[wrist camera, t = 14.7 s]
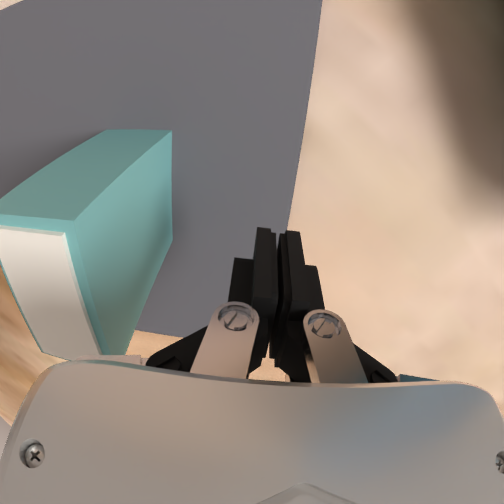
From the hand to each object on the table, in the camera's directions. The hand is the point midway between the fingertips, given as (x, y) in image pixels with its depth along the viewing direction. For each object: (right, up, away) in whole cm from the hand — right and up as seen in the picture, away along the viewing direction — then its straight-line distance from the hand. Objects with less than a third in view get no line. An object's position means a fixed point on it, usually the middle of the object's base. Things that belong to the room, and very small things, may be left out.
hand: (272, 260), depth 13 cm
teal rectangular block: (-7, +4, +5) cm, 10 cm away
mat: (-9, +5, +5) cm, 12 cm away
